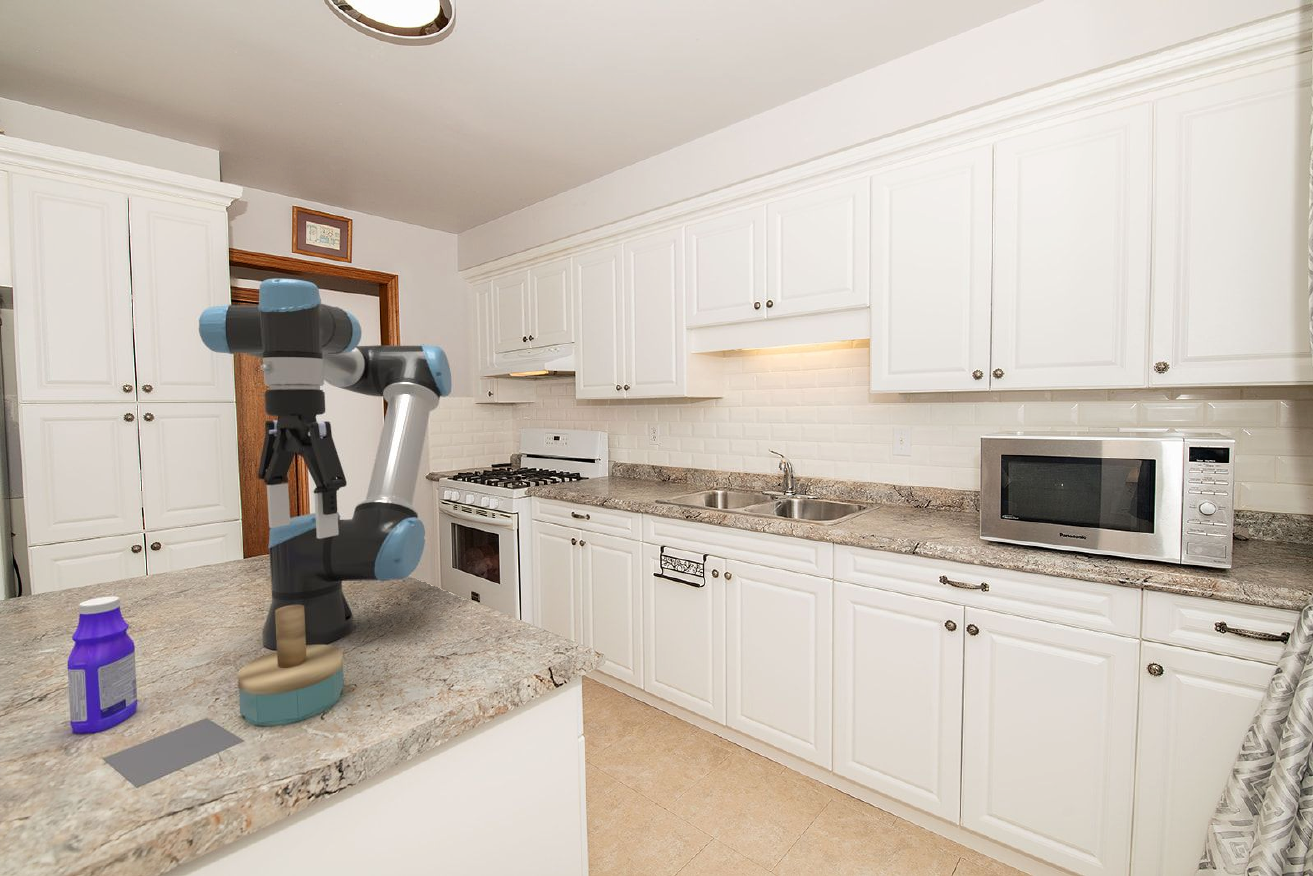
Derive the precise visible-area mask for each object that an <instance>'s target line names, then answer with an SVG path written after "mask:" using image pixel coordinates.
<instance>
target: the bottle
mask: <svg viewBox="0 0 1313 876" xmlns="http://www.w3.org/2000/svg"><path fill="white" fill-rule="evenodd" d="M78 608H79V609H78V615H79V616H78V617H79V618H78V623H77V627H76V629H75V632H74V633H73V634H72V636H71V639H72V641H73V642H74V645H73V647H72V649H71V651H70V654H69V656H68V659H67V678H68V679H67V680H68V700H69V715H70V716H69V717H70V721H69V723H70V727H71V729H72V731H73V732H74V733H76V734H90V733H91V734H93V733H98V732H102V731H105V730H109V729H111V728H113V727H115V726H117V725H119V724H121V723H122V722H124V721H126V720H127V719H129V718H130V717H132V715H134V713H135V712H136V710H137V707H138V691H137V690H138V688H137V671H136V670H137V669H136V667H137V666H136V651H135V650H136V645H135V643H134V640H133V639H132V638H131V637H130V636H129V634H128V633H127V631H128V629H129V627H130V626H129V624H128V622H126V620H125V619H124V617H123V616H122V612H121V604H120V597H118V596H103V597H96V598H93V599H89V600H85V601H82V602H80V603H79V605H78Z"/></svg>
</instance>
